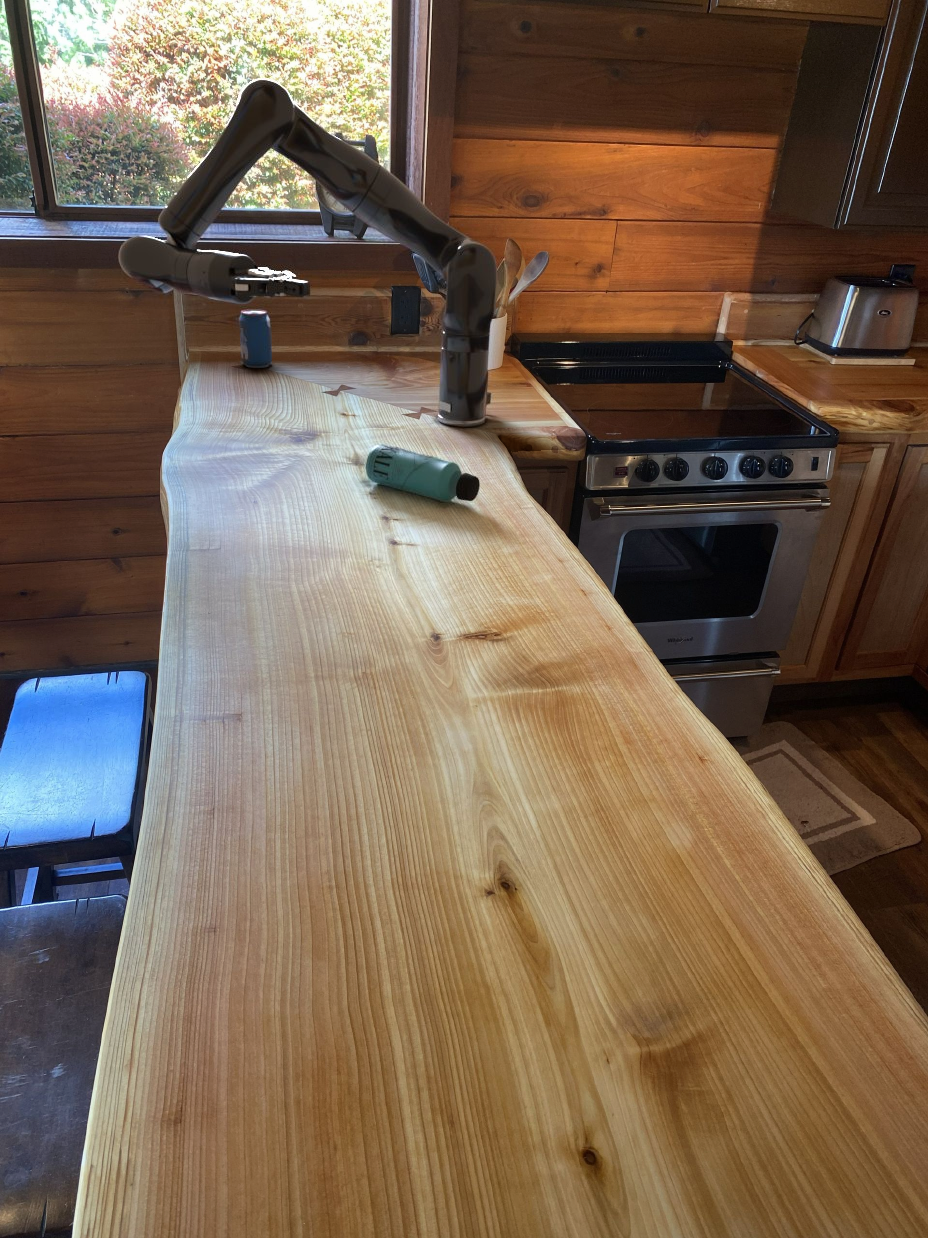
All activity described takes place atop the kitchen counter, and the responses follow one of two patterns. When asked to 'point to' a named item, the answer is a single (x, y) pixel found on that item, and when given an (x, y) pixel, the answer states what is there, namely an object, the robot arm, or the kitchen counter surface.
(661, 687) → the kitchen counter surface
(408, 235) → the robot arm
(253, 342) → the soda can
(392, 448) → the beverage bottle
